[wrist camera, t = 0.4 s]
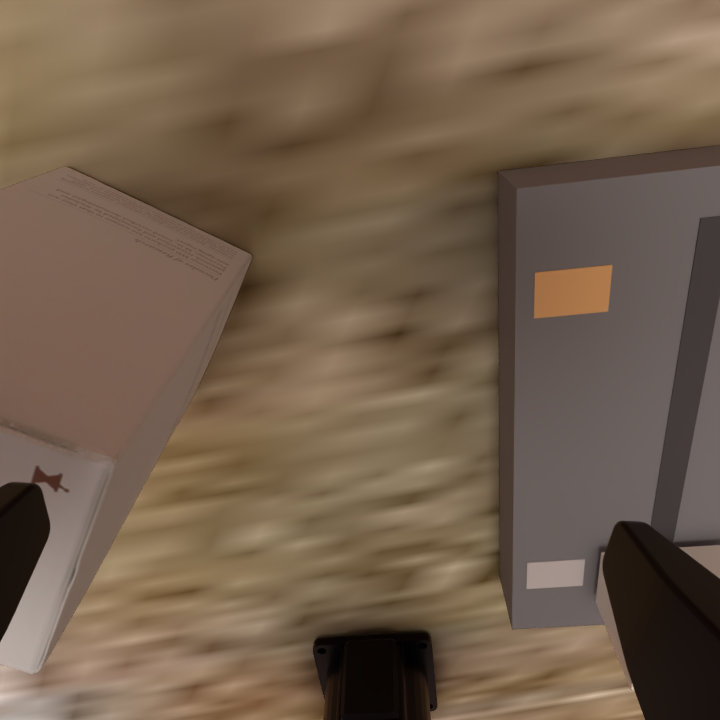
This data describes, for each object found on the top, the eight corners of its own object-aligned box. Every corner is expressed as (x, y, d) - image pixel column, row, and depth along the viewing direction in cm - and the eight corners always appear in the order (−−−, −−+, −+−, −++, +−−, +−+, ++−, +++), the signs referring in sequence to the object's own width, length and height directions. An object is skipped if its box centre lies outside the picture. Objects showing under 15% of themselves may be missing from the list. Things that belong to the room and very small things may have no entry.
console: (746, 562, 28) (785, 615, 25) (499, 576, 29) (512, 630, 26) (867, 128, 19) (949, 139, 16) (497, 170, 20) (517, 188, 17)
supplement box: (62, 158, 20) (-343, 285, 9) (258, 253, 21) (126, 469, 10) (20, 327, 23) (-317, 581, 12) (193, 401, 24) (37, 689, 13)
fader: (715, 595, 24) (780, 699, 20) (595, 602, 25) (637, 705, 21) (728, 544, 23) (800, 645, 19) (601, 552, 23) (646, 652, 19)
